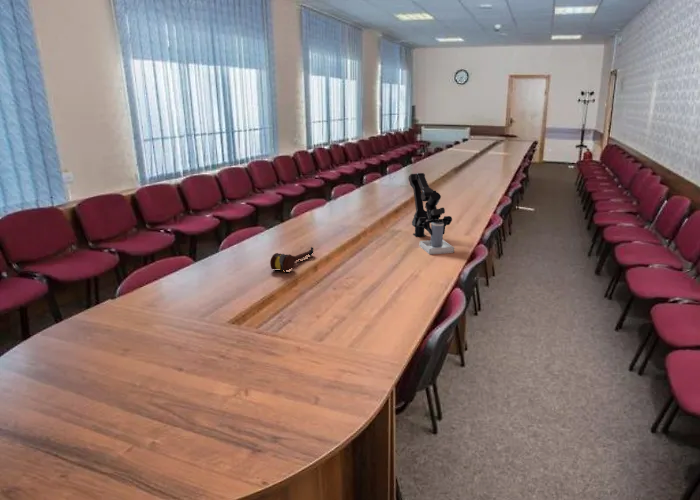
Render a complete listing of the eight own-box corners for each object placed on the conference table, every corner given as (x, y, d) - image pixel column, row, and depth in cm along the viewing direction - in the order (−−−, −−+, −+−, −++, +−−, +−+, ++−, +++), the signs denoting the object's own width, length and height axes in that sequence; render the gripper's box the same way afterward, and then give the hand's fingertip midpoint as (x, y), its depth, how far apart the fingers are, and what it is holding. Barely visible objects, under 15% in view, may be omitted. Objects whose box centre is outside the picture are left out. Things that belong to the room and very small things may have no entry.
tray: (419, 246, 273) (419, 241, 272) (442, 244, 276) (442, 239, 275) (429, 254, 258) (429, 249, 257) (453, 252, 261) (454, 247, 260)
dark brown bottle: (304, 259, 261) (319, 261, 257) (266, 273, 231) (283, 276, 227) (304, 240, 259) (320, 242, 255) (265, 253, 229) (283, 255, 225)
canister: (431, 243, 271) (432, 220, 267) (443, 244, 268) (444, 221, 265) (429, 246, 264) (430, 223, 261) (441, 247, 262) (442, 224, 258)
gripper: (419, 203, 262) (425, 227, 255) (451, 201, 265) (458, 226, 258) (414, 214, 271) (420, 238, 264) (446, 212, 274) (452, 236, 267)
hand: (437, 234), depth 263 cm, fingers open, 7 cm apart
